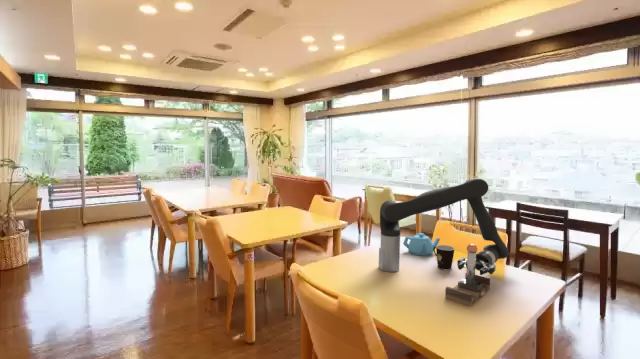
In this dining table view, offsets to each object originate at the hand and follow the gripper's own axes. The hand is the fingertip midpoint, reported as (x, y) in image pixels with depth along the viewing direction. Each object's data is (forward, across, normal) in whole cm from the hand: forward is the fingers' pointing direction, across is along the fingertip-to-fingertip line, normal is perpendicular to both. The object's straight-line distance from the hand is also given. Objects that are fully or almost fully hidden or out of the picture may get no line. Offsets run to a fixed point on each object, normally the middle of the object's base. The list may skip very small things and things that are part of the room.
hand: (469, 269), depth 144 cm
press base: (0, 0, +10) cm, 10 cm away
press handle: (-1, 0, +8) cm, 8 cm away
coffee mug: (-23, -21, +10) cm, 33 cm away
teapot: (-36, -39, +10) cm, 54 cm away
